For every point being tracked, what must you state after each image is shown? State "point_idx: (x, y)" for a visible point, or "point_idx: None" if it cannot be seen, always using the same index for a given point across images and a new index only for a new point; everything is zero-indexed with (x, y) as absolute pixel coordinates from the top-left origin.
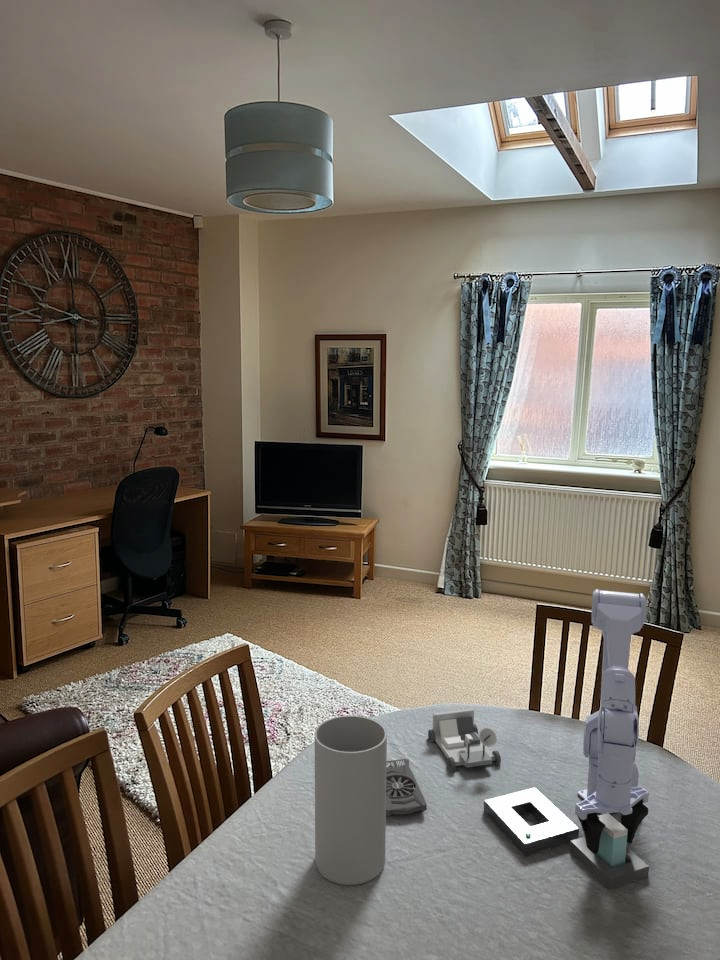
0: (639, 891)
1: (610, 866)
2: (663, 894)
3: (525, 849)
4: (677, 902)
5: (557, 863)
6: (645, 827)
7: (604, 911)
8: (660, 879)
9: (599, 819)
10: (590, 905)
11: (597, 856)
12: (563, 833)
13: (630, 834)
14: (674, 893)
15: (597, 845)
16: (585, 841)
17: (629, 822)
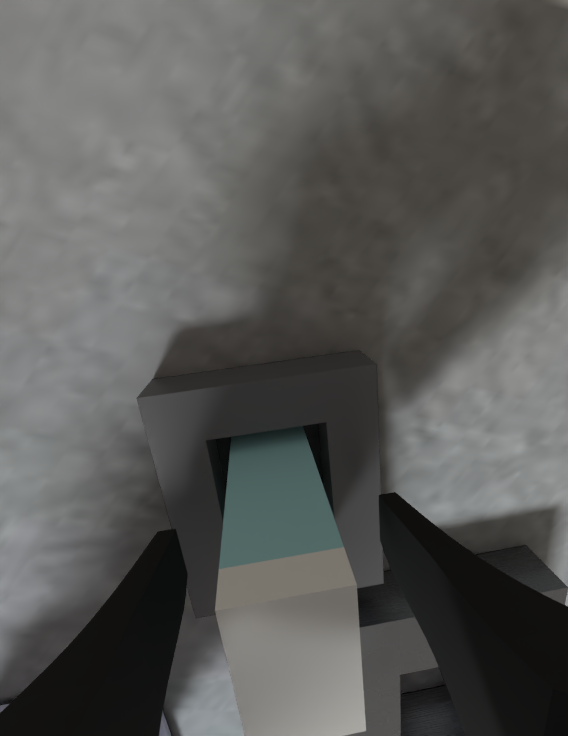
0: (243, 310)
1: (306, 440)
2: (144, 266)
3: (544, 566)
4: (105, 200)
5: (448, 502)
6: (6, 614)
7: (456, 245)
8: (105, 352)
9: (355, 709)
10: (483, 290)
11: (338, 493)
12: (393, 617)
13: (159, 575)
14: (86, 257)
15: (416, 523)
16: None
17: (137, 669)
